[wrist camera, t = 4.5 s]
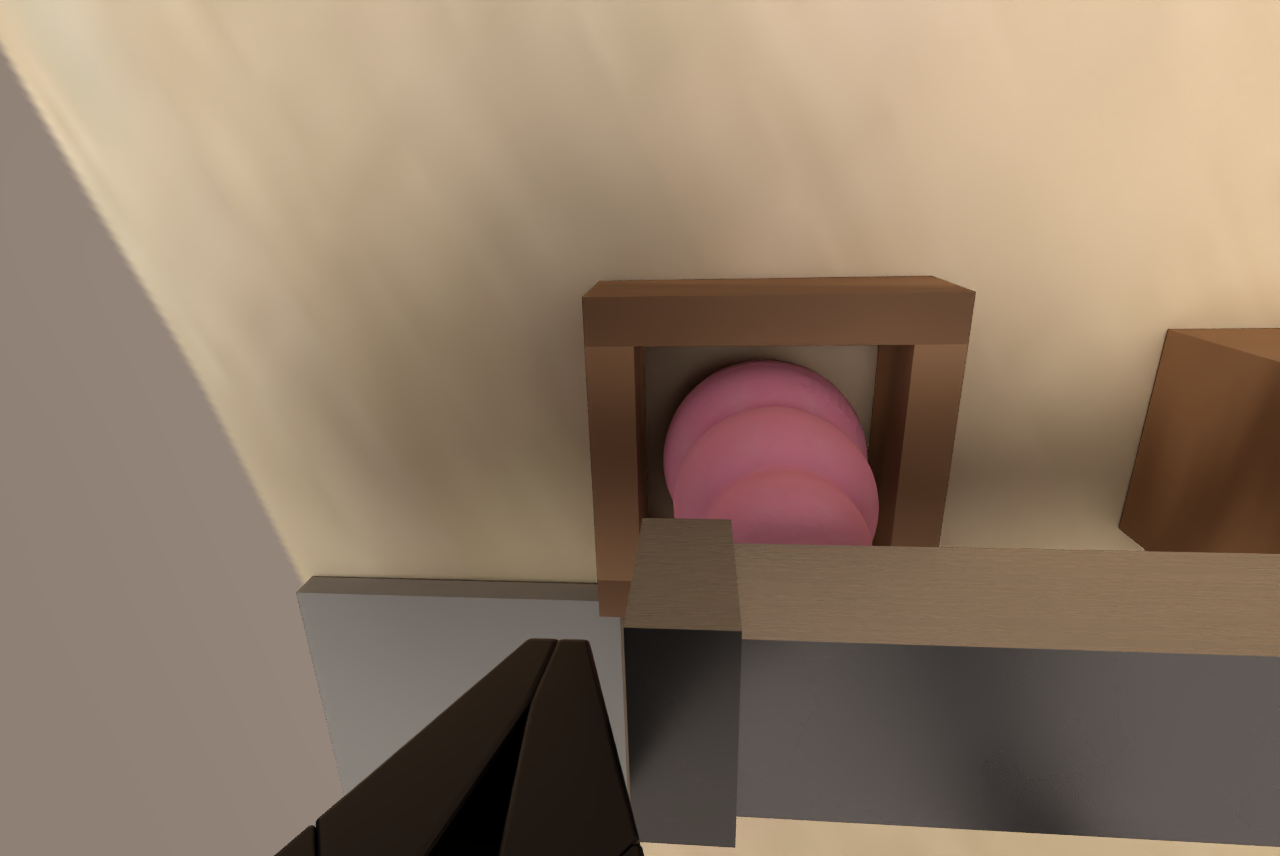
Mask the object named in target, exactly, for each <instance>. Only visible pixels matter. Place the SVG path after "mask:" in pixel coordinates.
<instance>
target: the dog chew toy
mask: <svg viewBox="0 0 1280 856" xmlns="http://www.w3.org/2000/svg"><path fill="white" fill-rule="evenodd" d="M663 467H664V475H665V480H666V484H667V487H668V490H669V493H670V496H671V498H672V500H673V508H674V518H683V519H731V522H732V533H733V543H751V544H801V545H852V546H872V541H873V538H874V535H875V531H876V527H877V522H878V513H879V500H878V492H877V487H876V482H875V479H874V476H873V473H872V470H871V468H870V466H869V464H868V455H867V445H866V441H865V436H864V432H863V429H862V427H861V424H860V421H859V419H858V417H857V415H856V413H855V411H854V409H853V408H852V406H851V405H850V403H849V402H848V401H847V399H846V398H845V397H844V396H843V395H842V393H841V392H840V391H839V390H838V389H837V388H836V387H835V386H834V385H833V384H832V383H830V382H829V381H828V380H826V379H825V378H823V377H822V376H820V375H819V374H817V373H815V372H813V371H811V370H809V369H807V368H805V367H802V366H800V365H796V364H793V363H789V362H784V361H778V360H751V361H745V362H741V363H737V364H734V365H731V366H728V367H726V368H723V369H721V370H719V371H717V372H715V373H713V374H712V375H710V376H708V377H707V378H705V379H704V380H703V381H701V382H700V383H699V384H698V385H697V386H696V387H695V388H693V389H692V390H691V391H690V393H689V394H688V395H687V396H686V397H685V398H684V400H683V401H682V402H681V404H680V405H679V407H678V409H677V410H676V412H675V414H674V416H673V418H672V420H671V423H670V426H669V428H668V431H667V435H666V439H665V444H664V454H663Z"/></svg>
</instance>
